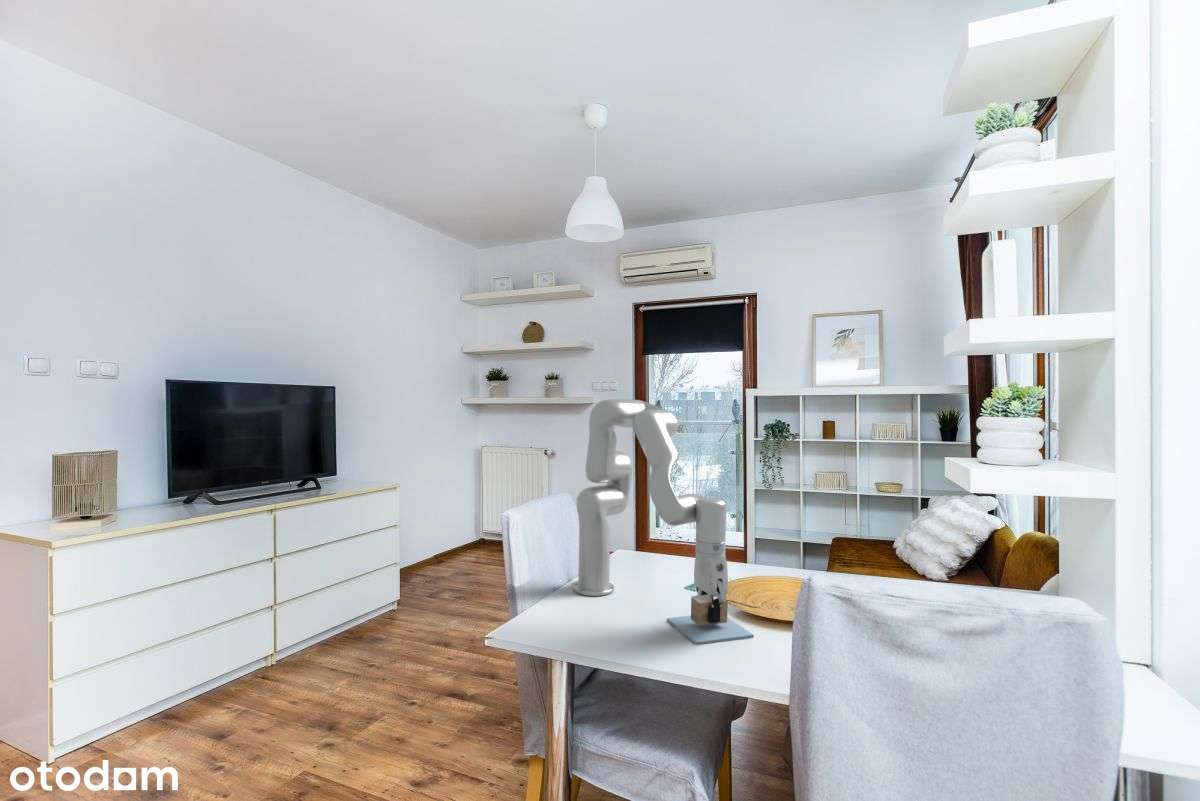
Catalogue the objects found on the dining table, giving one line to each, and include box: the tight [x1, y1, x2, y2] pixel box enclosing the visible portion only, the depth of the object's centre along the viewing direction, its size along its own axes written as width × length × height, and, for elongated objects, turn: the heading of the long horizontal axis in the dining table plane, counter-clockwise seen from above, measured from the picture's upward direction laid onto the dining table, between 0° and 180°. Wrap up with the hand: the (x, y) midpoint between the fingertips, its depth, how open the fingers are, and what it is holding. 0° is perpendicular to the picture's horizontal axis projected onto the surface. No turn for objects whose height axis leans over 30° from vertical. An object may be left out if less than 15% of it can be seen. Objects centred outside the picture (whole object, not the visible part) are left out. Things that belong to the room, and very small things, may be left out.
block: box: [690, 595, 729, 626], centre depth 148 cm, size 8×4×6 cm, turn 109°
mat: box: [666, 615, 755, 646], centre depth 148 cm, size 16×16×1 cm
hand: (708, 617), depth 148 cm, fingers closed on block, 4 cm apart
